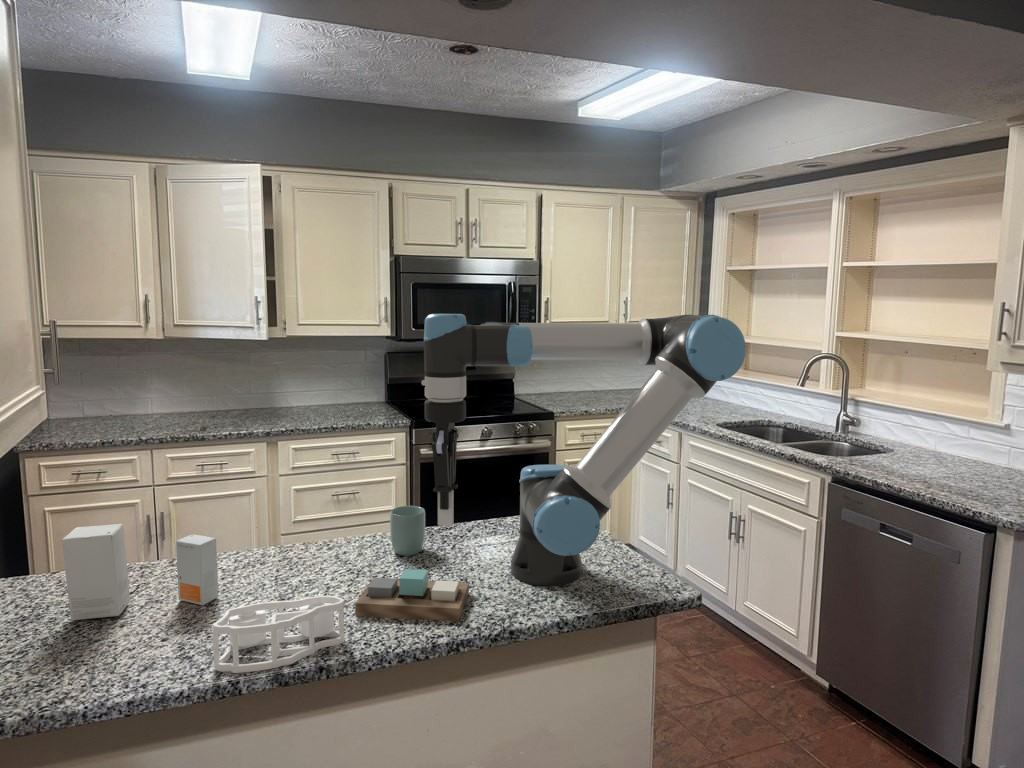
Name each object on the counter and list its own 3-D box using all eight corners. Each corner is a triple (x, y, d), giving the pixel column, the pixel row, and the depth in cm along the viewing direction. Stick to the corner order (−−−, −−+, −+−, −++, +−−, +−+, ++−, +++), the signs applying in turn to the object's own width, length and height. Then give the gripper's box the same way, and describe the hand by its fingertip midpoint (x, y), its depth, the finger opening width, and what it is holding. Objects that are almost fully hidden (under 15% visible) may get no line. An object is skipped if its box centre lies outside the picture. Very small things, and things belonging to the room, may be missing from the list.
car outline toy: (343, 626, 119) (342, 587, 118) (346, 658, 108) (345, 615, 107) (221, 642, 113) (219, 600, 112) (212, 677, 102) (210, 632, 101)
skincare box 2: (177, 601, 128) (174, 540, 126) (195, 592, 132) (192, 533, 130) (202, 606, 126) (199, 544, 124) (219, 597, 130) (217, 537, 128)
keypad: (468, 595, 132) (468, 583, 131) (459, 621, 121) (459, 608, 120) (373, 590, 133) (373, 578, 133) (355, 616, 122) (355, 603, 122)
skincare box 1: (131, 601, 127) (126, 522, 125) (118, 618, 121) (113, 534, 119) (82, 605, 125) (76, 525, 123) (66, 622, 119) (60, 537, 117)
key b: (427, 586, 129) (427, 570, 128) (422, 595, 124) (422, 579, 124) (405, 584, 129) (405, 568, 129) (399, 594, 125) (399, 578, 124)
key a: (458, 597, 128) (458, 581, 128) (454, 607, 124) (454, 591, 124) (436, 596, 129) (436, 580, 128) (431, 606, 124) (431, 590, 124)
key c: (397, 594, 129) (397, 578, 129) (391, 604, 125) (391, 588, 125) (375, 593, 130) (374, 577, 129) (368, 603, 125) (368, 587, 125)
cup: (418, 560, 149) (418, 517, 148) (385, 557, 150) (385, 514, 149) (429, 548, 156) (429, 506, 155) (398, 545, 158) (397, 504, 157)
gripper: (432, 393, 128) (433, 512, 131) (416, 403, 115) (417, 535, 118) (471, 394, 128) (470, 514, 131) (459, 404, 115) (459, 537, 118)
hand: (445, 524), depth 124 cm, fingers closed
